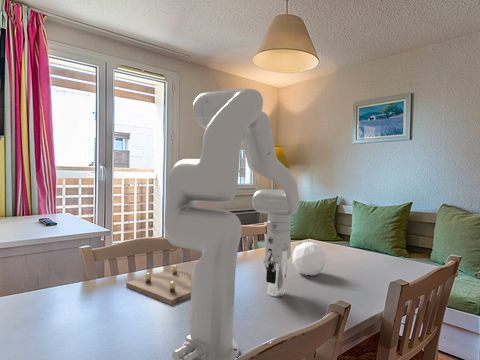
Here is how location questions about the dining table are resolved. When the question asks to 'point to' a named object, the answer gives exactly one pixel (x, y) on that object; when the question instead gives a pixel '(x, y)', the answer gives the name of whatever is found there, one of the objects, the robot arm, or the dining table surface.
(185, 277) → the walnut board
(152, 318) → the dining table surface
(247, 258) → the dining table surface
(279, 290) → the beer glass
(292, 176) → the robot arm
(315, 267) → the geodesic sphere
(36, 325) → the dining table surface
